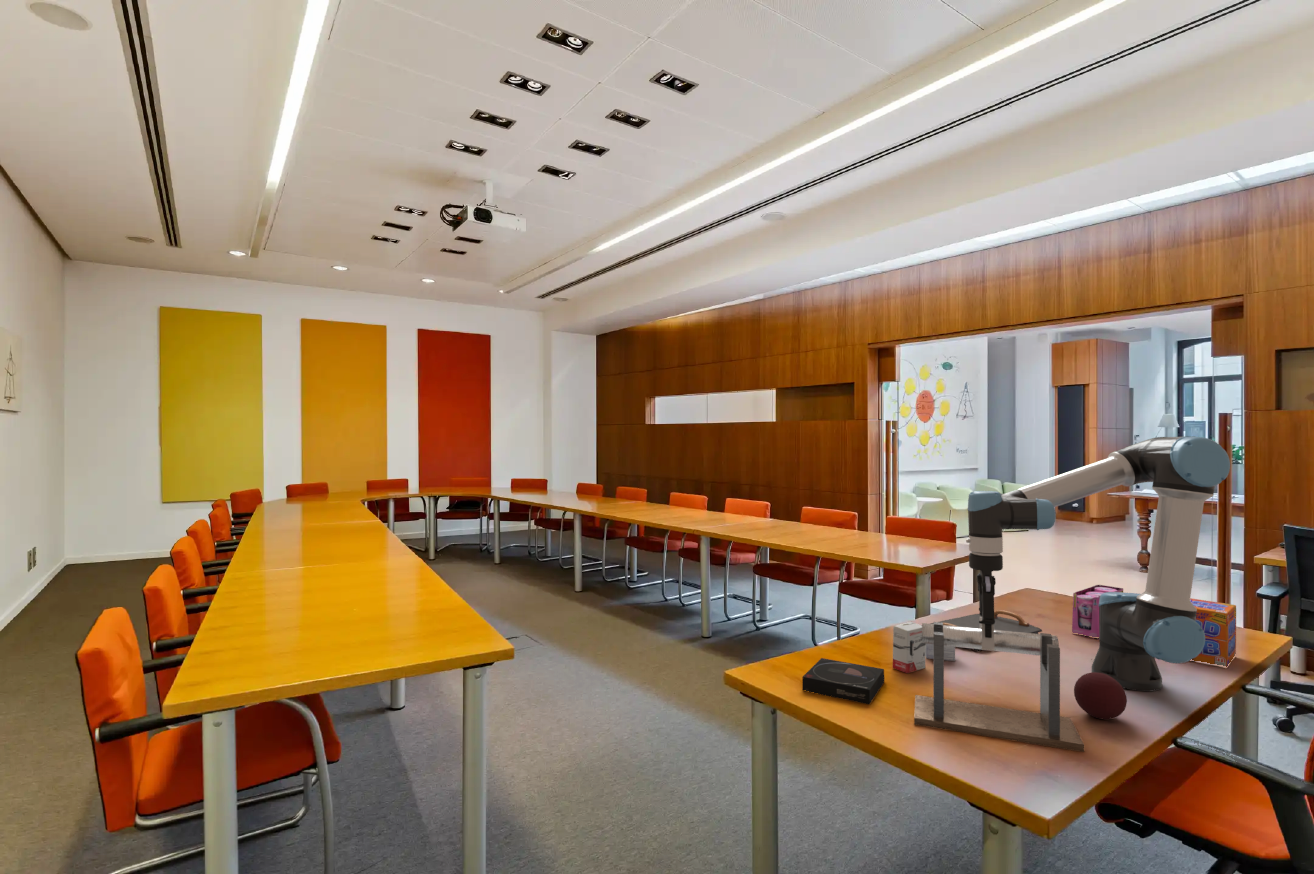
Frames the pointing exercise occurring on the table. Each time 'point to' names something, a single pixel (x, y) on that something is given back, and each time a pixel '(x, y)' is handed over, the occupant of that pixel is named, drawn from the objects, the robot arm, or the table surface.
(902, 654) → the ink box
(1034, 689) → the table surface
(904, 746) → the table surface
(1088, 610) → the gum box
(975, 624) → the serving board
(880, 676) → the portable cd player
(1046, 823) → the table surface
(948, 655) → the medicine box
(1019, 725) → the bracket rack
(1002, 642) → the steel rod
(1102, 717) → the decorative ball
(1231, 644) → the game box
